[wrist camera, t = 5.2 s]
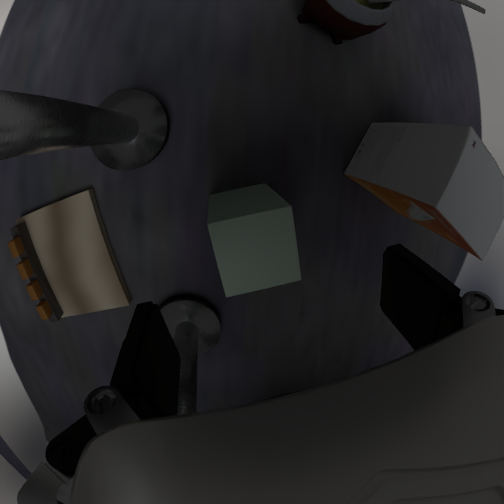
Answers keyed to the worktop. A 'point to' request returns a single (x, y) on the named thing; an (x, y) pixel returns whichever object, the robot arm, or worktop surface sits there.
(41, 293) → the breaker board
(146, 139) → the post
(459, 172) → the small box
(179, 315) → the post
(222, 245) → the green block
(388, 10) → the mate gourd
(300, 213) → the worktop surface
